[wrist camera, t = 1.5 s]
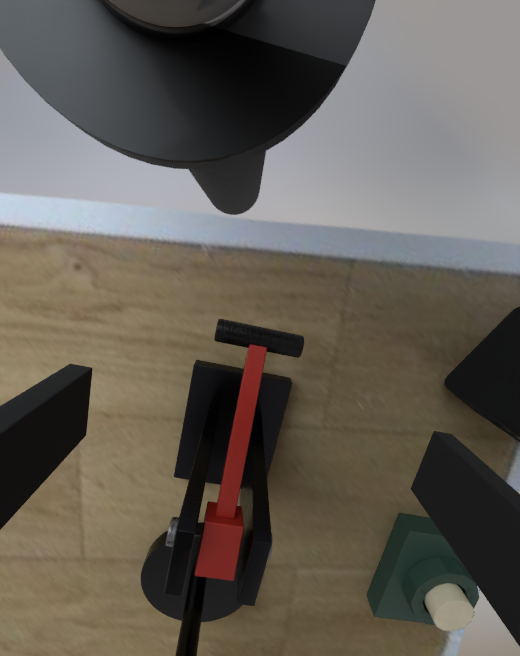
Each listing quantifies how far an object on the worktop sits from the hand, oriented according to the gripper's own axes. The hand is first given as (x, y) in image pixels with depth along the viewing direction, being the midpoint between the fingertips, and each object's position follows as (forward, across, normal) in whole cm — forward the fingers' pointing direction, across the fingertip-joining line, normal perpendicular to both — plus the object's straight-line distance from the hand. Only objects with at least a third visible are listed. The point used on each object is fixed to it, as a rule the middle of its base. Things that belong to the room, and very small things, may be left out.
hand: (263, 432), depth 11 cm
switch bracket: (+16, 0, -10) cm, 19 cm away
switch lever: (+7, 0, -5) cm, 9 cm away
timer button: (+12, +25, -23) cm, 36 cm away
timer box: (+16, +25, -23) cm, 37 cm away
